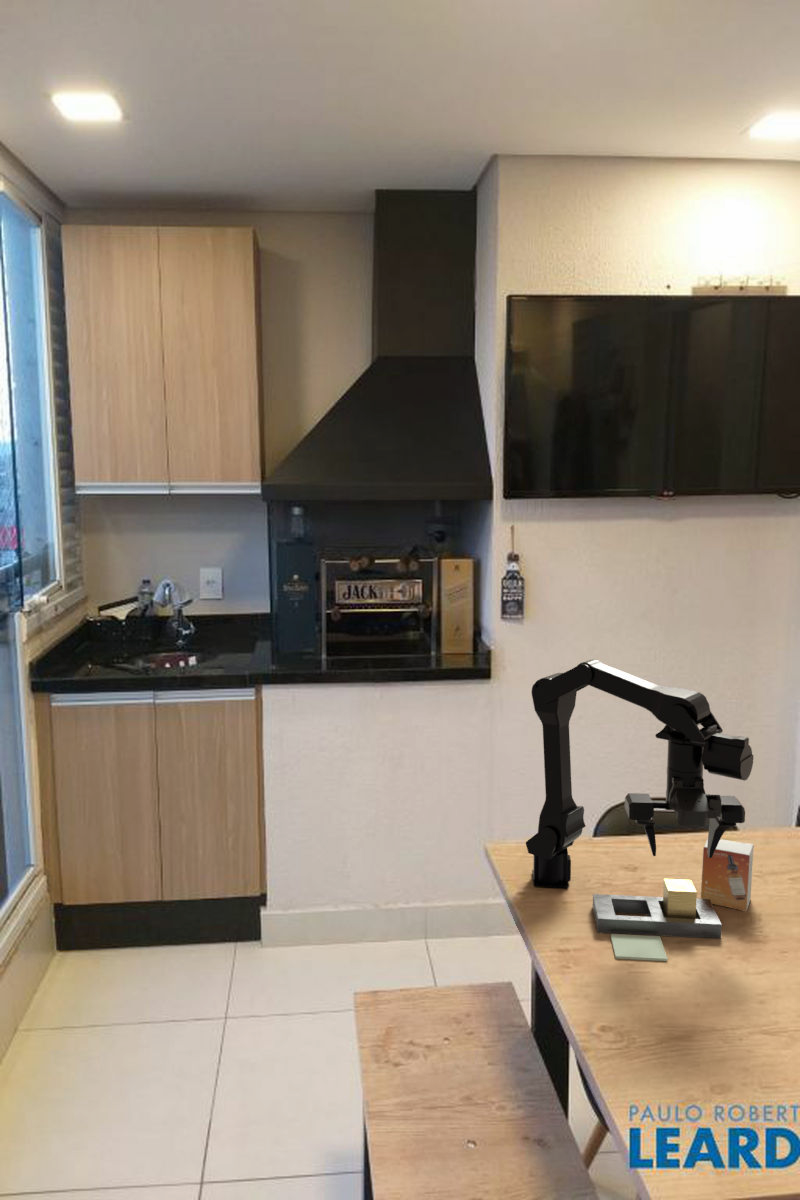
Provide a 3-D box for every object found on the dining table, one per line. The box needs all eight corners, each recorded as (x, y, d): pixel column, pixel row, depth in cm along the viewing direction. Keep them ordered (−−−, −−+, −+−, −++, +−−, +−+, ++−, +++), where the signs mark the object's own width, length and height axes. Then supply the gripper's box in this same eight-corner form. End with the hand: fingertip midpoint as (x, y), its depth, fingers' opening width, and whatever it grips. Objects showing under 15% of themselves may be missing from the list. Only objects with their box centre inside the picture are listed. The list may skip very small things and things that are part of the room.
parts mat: (615, 958, 143) (615, 956, 143) (610, 936, 150) (610, 934, 150) (667, 961, 142) (667, 958, 142) (659, 938, 149) (660, 936, 149)
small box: (699, 902, 162) (702, 846, 160) (705, 889, 167) (707, 835, 165) (747, 912, 158) (750, 855, 157) (751, 898, 163) (754, 843, 162)
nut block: (667, 929, 152) (668, 890, 151) (662, 916, 157) (663, 878, 156) (695, 931, 152) (696, 891, 151) (689, 918, 156) (691, 879, 155)
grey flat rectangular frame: (597, 932, 151) (598, 918, 151) (592, 907, 160) (593, 894, 160) (721, 938, 149) (721, 924, 149) (709, 912, 158) (709, 899, 158)
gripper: (635, 782, 144) (633, 875, 146) (756, 785, 142) (752, 879, 144) (625, 760, 155) (622, 847, 157) (737, 762, 153) (733, 850, 155)
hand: (681, 856), depth 153 cm, fingers open, 9 cm apart
